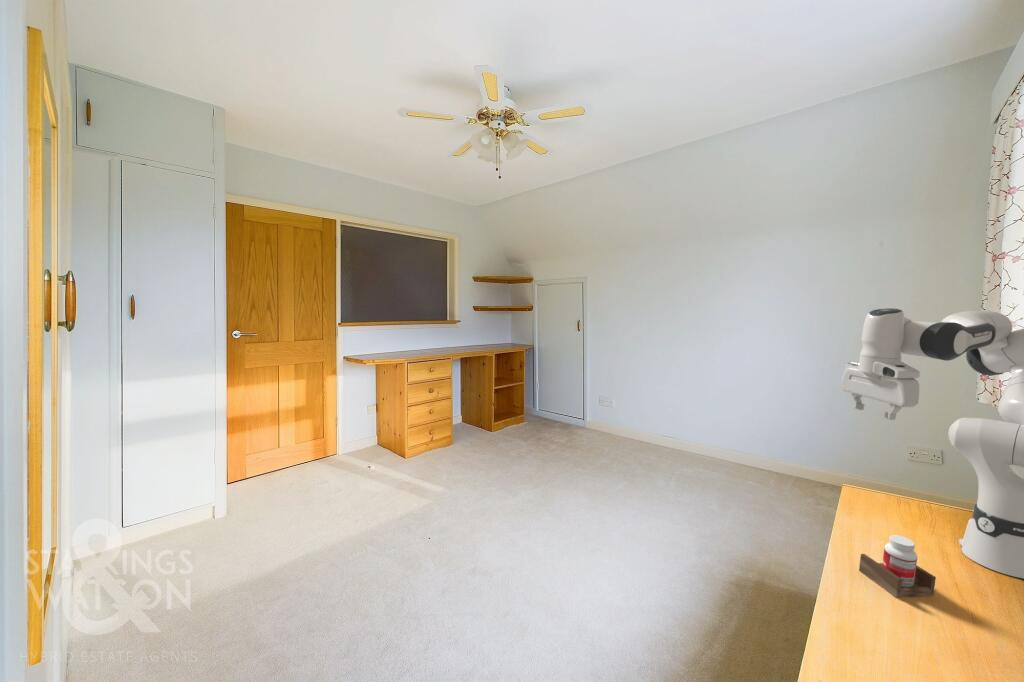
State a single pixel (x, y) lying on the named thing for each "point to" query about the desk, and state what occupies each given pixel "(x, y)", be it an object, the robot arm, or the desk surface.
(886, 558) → the pill bottle
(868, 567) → the cradle
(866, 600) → the desk surface
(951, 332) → the robot arm
